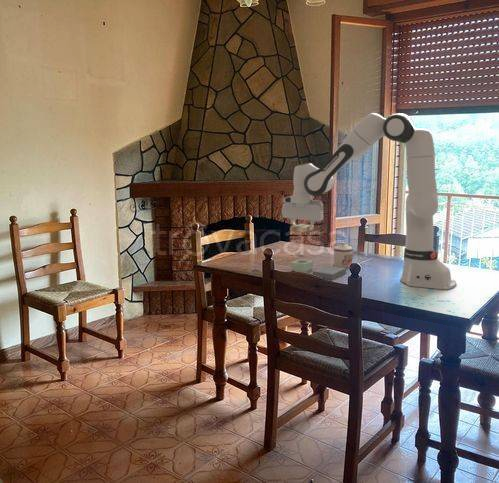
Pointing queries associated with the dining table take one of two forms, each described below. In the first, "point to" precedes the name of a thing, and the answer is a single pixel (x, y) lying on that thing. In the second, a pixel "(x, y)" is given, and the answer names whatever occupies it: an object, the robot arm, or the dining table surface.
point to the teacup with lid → (343, 255)
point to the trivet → (330, 272)
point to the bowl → (302, 266)
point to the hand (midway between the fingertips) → (302, 229)
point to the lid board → (300, 228)
